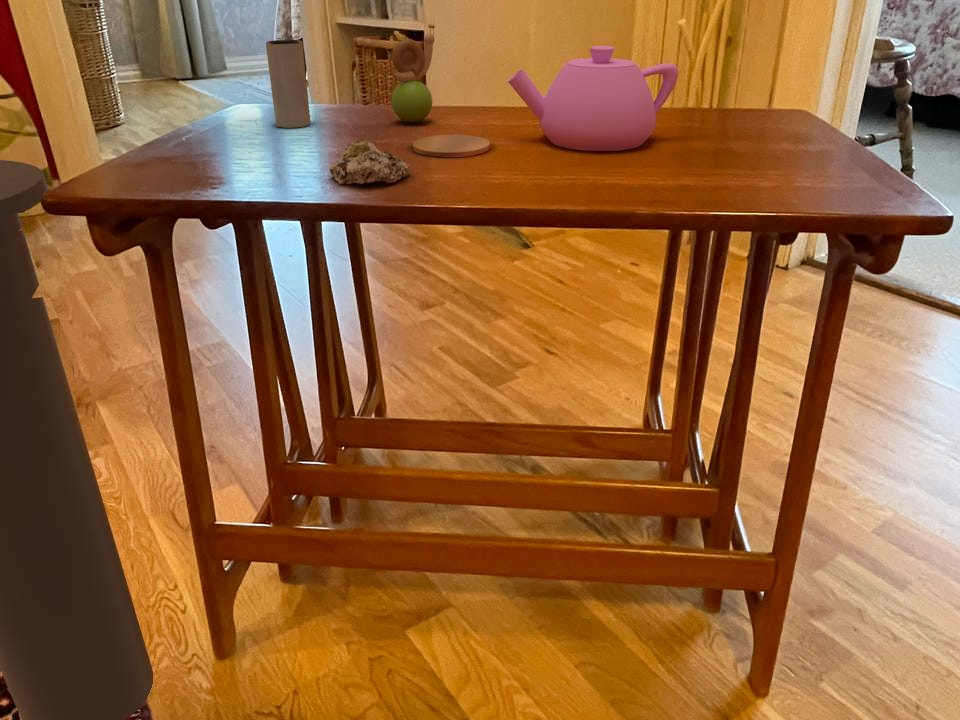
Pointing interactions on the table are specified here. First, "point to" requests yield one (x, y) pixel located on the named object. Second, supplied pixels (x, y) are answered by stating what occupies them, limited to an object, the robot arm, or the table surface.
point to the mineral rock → (368, 165)
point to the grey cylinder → (288, 83)
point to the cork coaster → (451, 146)
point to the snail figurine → (412, 79)
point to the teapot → (598, 102)
